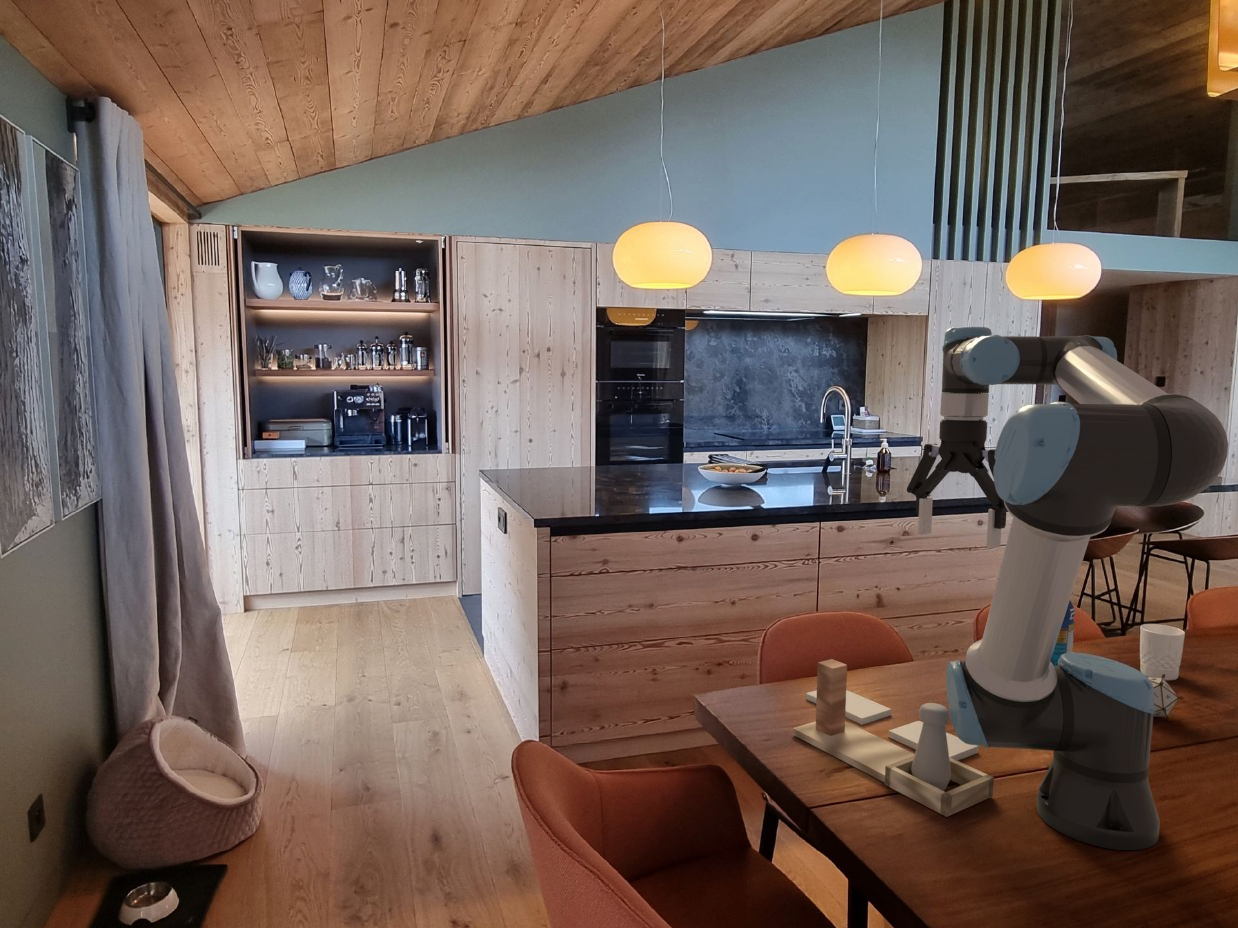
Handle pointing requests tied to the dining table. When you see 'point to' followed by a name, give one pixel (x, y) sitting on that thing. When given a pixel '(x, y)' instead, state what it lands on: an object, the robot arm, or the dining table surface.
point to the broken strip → (907, 734)
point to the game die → (1163, 697)
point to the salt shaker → (933, 747)
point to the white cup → (1160, 650)
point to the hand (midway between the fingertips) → (957, 540)
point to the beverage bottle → (1065, 635)
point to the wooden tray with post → (883, 750)
